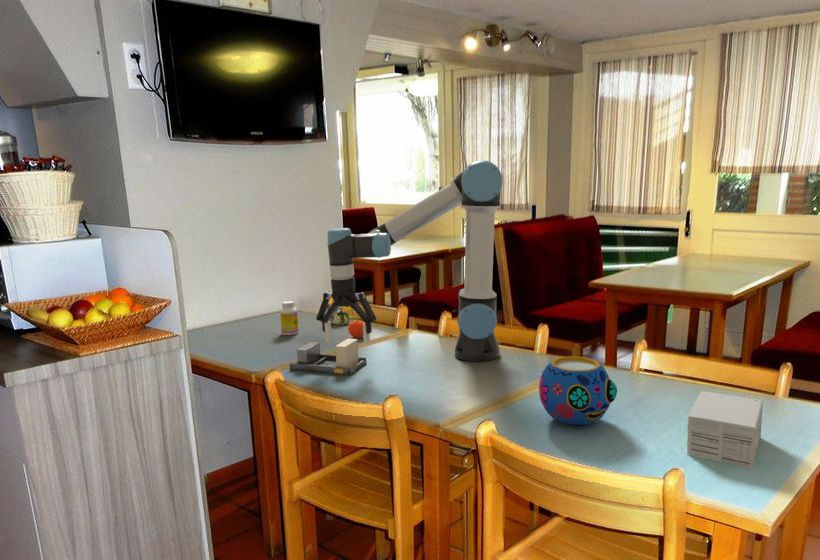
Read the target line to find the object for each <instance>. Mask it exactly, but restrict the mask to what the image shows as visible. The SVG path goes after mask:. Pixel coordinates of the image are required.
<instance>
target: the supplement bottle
mask: <svg viewBox="0 0 820 560" xmlns="http://www.w3.org/2000/svg"><path fill="white" fill-rule="evenodd" d="M281 306H282V308H281V309H280V310H279V313H280V327H281V328H280V329H281V334H282V335H283V336H295V335H297V334H298V333H299V320H298V319H299V318H298V309H297V308H296V307H295V301H294V300H285V301H283V302H281Z"/></svg>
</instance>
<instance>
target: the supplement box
mask: <svg viewBox="0 0 820 560" xmlns="http://www.w3.org/2000/svg"><path fill="white" fill-rule="evenodd" d="M763 403H764V400H761V399H755V398H751V397H750V398H749V397H744V396H743V397H742V396H737V395H730V394H724V393H723V394H722V393H716V392H712V391H705V390H704V391H702V390H701V391H700V393H699V394H698V397H696V400H695V403H694V405H693V407H692V408H691V410H690V412H689V414H688V419H687V420H688V421H687V438H686V439H687V441H686V442H687V447H686V448H687V449H686V455H687V456H692V457H697V458H702V459H705V460H712V461H716V462H721V463H726V464H730V465H735V466H740V467H746V468H749V469H754V468H755V463H756V459H757V455H758V451H759V446H760V441H761V438H762V424H763V423H762V421H763V420H762V419H763V406H764V404H763Z"/></svg>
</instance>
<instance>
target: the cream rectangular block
mask: <svg viewBox="0 0 820 560" xmlns="http://www.w3.org/2000/svg"><path fill="white" fill-rule="evenodd" d="M358 339H359V338H346V339H345V340H343V341H341V342H340V343H338V344H336V345H335V355H336V364H337V367H346V368H352V367H353V366H355V365H356V364H357V363H359V358H358V357H359V344H358V343H359V342H358V341H359V340H358Z"/></svg>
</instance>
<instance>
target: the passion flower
mask: <svg viewBox="0 0 820 560" xmlns="http://www.w3.org/2000/svg"><path fill="white" fill-rule="evenodd" d="M331 305H332V303H330V302H329V303H328V306H327V308H326V311H325V314H326V313H327V311H328V310H329V308H330V307H331ZM343 308H344V306H342V307H339V306H338V307H337V308H336V309H335V311H334V312H333V314H332V315H331V317H330V318H329V319H328V321H331V323H333V321H334V319H335V318H337V317H339V321H340V324H341V325H342V324H344V323H345V324H346V322H347V323H349V322H350V320H351V318H350V313H348V312H351V313H352V315H354V314H355V311H354V309H352V308H351V309H350V310H347V311H343ZM325 314H324V316H325ZM324 316H323V317H324Z"/></svg>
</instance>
